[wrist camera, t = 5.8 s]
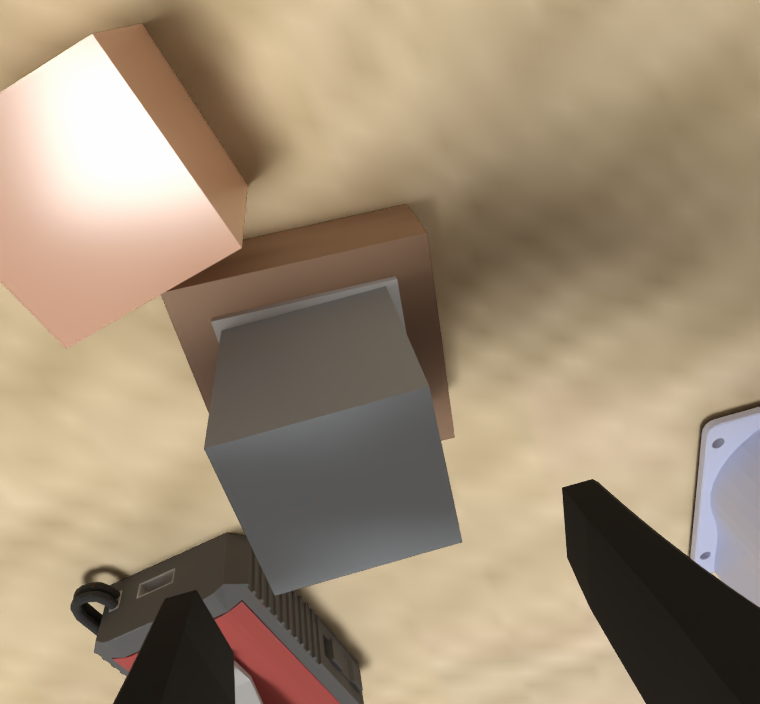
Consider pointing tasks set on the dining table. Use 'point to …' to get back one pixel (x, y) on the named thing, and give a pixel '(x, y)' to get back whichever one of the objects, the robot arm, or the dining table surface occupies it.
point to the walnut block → (316, 289)
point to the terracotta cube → (109, 185)
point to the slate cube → (329, 442)
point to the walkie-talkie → (229, 625)
